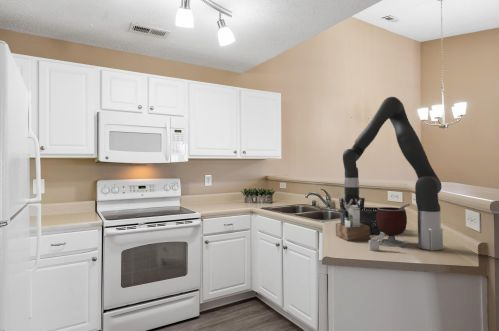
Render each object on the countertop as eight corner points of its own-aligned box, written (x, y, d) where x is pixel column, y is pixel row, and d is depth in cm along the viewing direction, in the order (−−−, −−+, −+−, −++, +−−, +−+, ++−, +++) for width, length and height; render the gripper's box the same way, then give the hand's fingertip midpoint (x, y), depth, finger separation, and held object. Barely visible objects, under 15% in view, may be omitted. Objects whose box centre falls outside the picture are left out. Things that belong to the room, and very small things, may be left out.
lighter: (370, 250, 140) (369, 232, 140) (368, 249, 142) (368, 232, 142) (385, 250, 141) (385, 232, 141) (383, 249, 142) (383, 231, 142)
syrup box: (344, 233, 168) (343, 207, 168) (353, 232, 170) (352, 206, 170) (351, 235, 163) (350, 208, 163) (360, 234, 165) (359, 207, 165)
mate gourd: (372, 243, 153) (371, 203, 153) (381, 238, 163) (381, 200, 164) (406, 248, 143) (405, 205, 143) (414, 243, 153) (413, 202, 154)
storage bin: (387, 228, 192) (387, 206, 193) (396, 235, 173) (396, 211, 174) (340, 227, 198) (339, 206, 198) (343, 233, 179) (343, 210, 179)
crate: (369, 239, 161) (369, 226, 161) (347, 241, 159) (347, 227, 159) (356, 234, 174) (356, 222, 174) (335, 236, 171) (335, 223, 171)
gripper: (342, 186, 162) (343, 219, 161) (367, 186, 164) (368, 217, 164) (336, 186, 169) (336, 217, 169) (360, 185, 172) (360, 215, 171)
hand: (352, 217), depth 166 cm, fingers closed on syrup box, 6 cm apart
